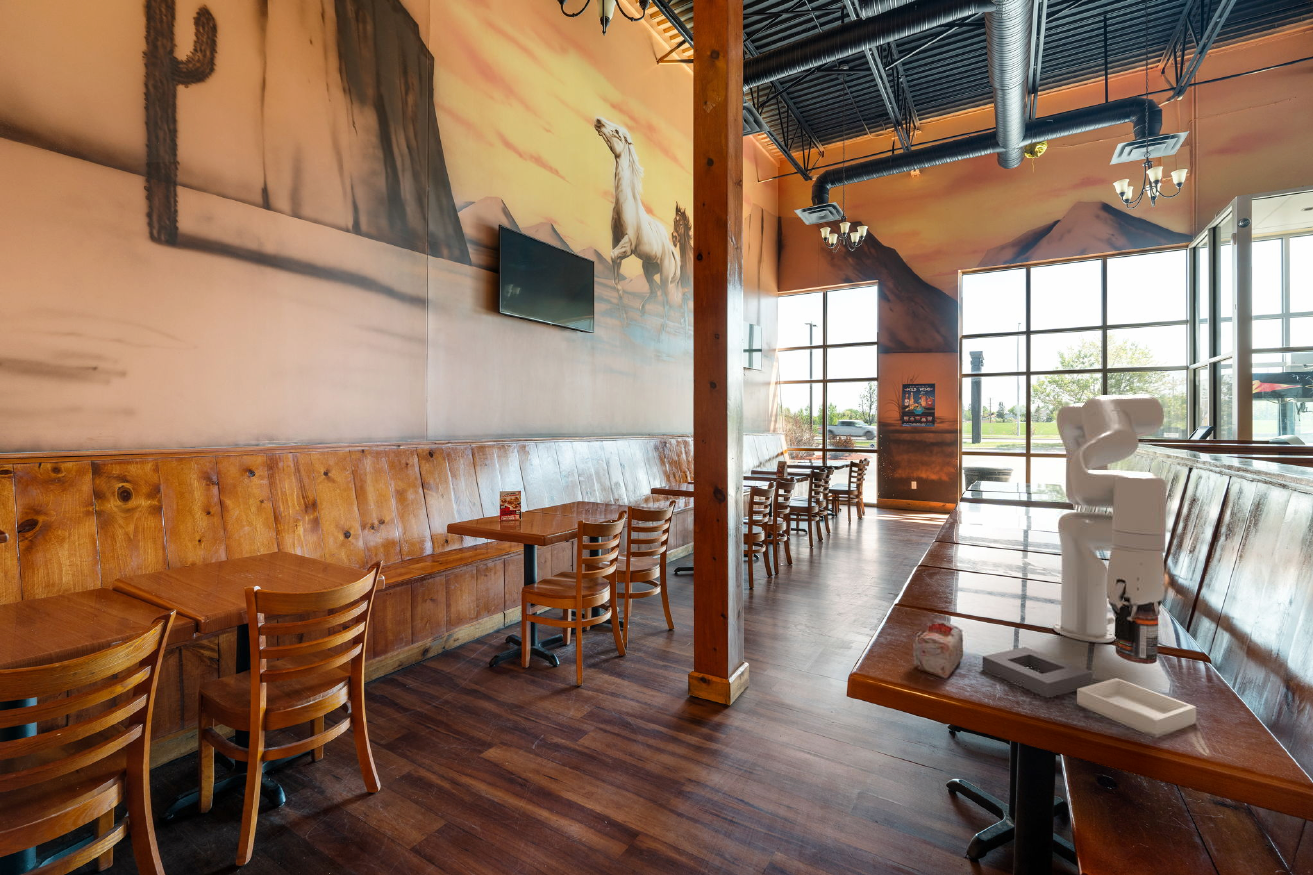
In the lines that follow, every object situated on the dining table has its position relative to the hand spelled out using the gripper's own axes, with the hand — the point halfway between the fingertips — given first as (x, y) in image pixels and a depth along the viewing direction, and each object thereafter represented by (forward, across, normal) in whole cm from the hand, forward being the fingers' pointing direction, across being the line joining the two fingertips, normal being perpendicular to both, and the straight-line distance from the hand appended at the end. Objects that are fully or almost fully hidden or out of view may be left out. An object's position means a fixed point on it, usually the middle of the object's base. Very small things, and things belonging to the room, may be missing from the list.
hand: (1136, 636), depth 104 cm
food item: (+15, +16, -29) cm, 36 cm away
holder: (+14, +2, -17) cm, 22 cm away
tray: (+14, 0, 0) cm, 14 cm away
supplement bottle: (+4, 0, 0) cm, 4 cm away
